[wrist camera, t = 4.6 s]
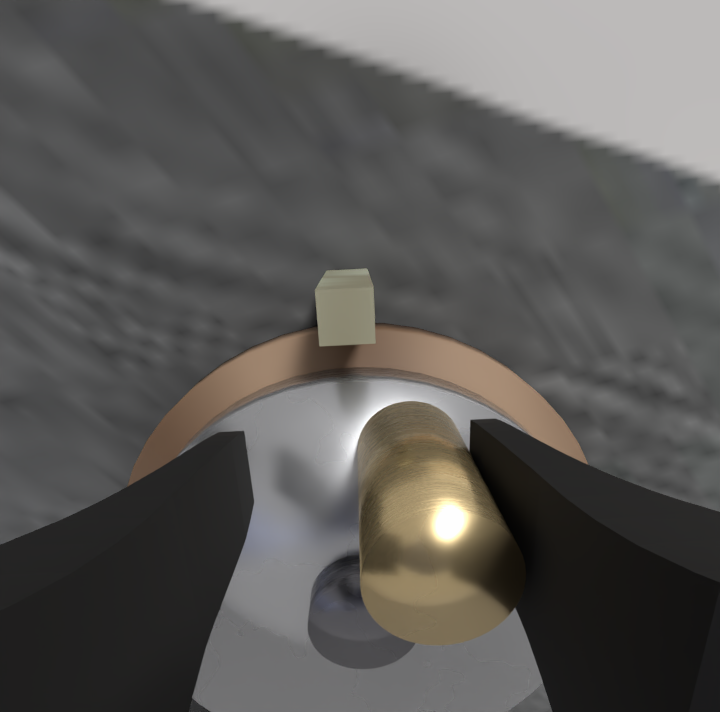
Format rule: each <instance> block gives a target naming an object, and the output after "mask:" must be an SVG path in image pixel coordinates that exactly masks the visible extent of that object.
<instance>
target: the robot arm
mask: <svg viewBox="0 0 720 712" xmlns="http://www.w3.org/2000/svg"><path fill="white" fill-rule="evenodd" d="M469 452H470V454H471V456H472V458H473V460H474V462H475V464H476V466H477V467H478V469H479V471H480V473H481V475H482V477H483V479H484V481H485V483H486V485H487V487H488V489H489V491H490V493H491V494H492V496H493V498H494V500H495V502H496V504H497V506H498V508H499V510H500V512H501V514H502V516H503V518H504V520H505V522H506V523H507V525H508V527H509V529H510V531H511V533H512V535H513V537H514V539H515V541H516V543H517V545H518V547H519V549H520V551H521V553H522V555H523V558H524V561H525V567H526V581H525V587H524V590H523V593H522V596H521V598H520V600H519V602H518V604H517V606H516V607H515V609H516V611H517V613H518V615H519V618H520V620H521V623H522V625H523V627H524V630H525V632H526V635H527V638H528V640H529V643H530V646H531V649H532V652H533V655H534V658H535V661H536V664H537V666H538V669H539V672H540V675H541V678H542V681H543V684H544V687H545V690H546V693H547V696H548V699H549V702H550V705H551V708H552V711H553V712H720V512H718V511H715V510H711V509H708V508H705V507H701V506H698V505H695V504H691V503H688V502H685V501H681V500H678V499H675V498H672V497H669V496H666V495H663V494H660V493H657V492H654V491H651V490H649V489H646V488H643V487H641V486H638V485H635V484H633V483H630V482H628V481H625V480H622V479H620V478H617V477H615V476H612V475H610V474H608V473H605V472H603V471H601V470H598V469H596V468H594V467H592V466H590V465H587V464H585V463H583V462H581V461H579V460H577V459H575V458H572V457H570V456H568V455H566V454H564V453H562V452H560V451H558V450H556V449H555V448H553V447H551V446H549V445H547V444H545V443H543V442H541V441H539V440H537V439H536V438H534V437H532V436H530V435H528V434H526V433H524V432H523V431H521V430H519V429H517V428H515V427H513V426H511V425H509V424H507V423H505V422H503V421H501V420H498V419H495V418H494V419H474V420H470V447H469ZM253 506H254V496H253V489H252V482H251V475H250V468H249V461H248V454H247V447H246V440H245V433H244V431H231V432H219V433H216V434H214V435H212V436H210V437H209V438H207V439H205V440H203V441H202V442H200V443H199V444H197V445H195V446H194V447H192V448H191V449H189V450H187V451H186V452H184V453H183V454H181V455H179V456H178V457H176V458H175V459H173V460H171V461H170V462H168V463H167V464H165V465H163V466H162V467H160V468H159V469H157V470H155V471H154V472H152V473H150V474H148V475H147V476H145V477H143V478H141V479H140V480H138V481H136V482H135V483H133V484H131V485H129V486H128V487H126V488H124V489H122V490H121V491H119V492H117V493H115V494H113V495H111V496H110V497H108V498H106V499H104V500H102V501H100V502H98V503H96V504H94V505H92V506H90V507H88V508H85V509H83V510H81V511H79V512H77V513H75V514H73V515H71V516H69V517H66V518H64V519H62V520H60V521H58V522H55V523H53V524H50V525H48V526H45V527H43V528H40V529H38V530H36V531H33V532H31V533H28V534H26V535H23V536H21V537H18V538H16V539H14V540H11V541H9V542H6V543H4V544H1V545H0V712H189V708H190V704H191V700H192V697H193V693H194V689H195V686H196V682H197V678H198V675H199V671H200V667H201V663H202V660H203V656H204V653H205V649H206V646H207V643H208V640H209V637H210V634H211V631H212V628H213V626H214V623H215V620H216V618H217V615H218V613H219V610H220V607H221V605H222V602H223V599H224V597H225V594H226V591H227V589H228V586H229V584H230V581H231V578H232V576H233V573H234V570H235V568H236V565H237V562H238V560H239V557H240V554H241V551H242V549H243V546H244V543H245V540H246V537H247V533H248V529H249V524H250V520H251V515H252V511H253Z"/></svg>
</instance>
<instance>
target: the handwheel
mask: <svg viewBox="0 0 720 712" xmlns="http://www.w3.org/2000/svg"><path fill="white" fill-rule="evenodd" d="M494 418H495V419H498V420H501V421H503V422H505V423H507V424H509V425H511V426H513V427H515V428H517V429H519V430H521V431H523V432H524V433H526V434H528V435H530V436H532V435H531V434H530V433H529V432H528V431H527V429H526V428H525V427H524V426H522V425H521V424H520V423H519V422H518V421H516V420H515V419H514V418H513V417H512V416H510V415H509V414H508V413H507V412H506V411H504V410H503V409H502V408H500V407H498V406H497V405H495V404H494V403H492V402H490V401H489V400H487V399H485V398H484V397H482V396H481V395H479V394H477V393H475V392H472V391H470V390H468V389H466V388H463V387H461V386H459V385H457V384H454V383H452V382H449V381H446V380H443V379H439V378H436V377H432V376H429V375H426V374H422V373H417V372H411V371H405V370H399V369H392V368H374V367H351V368H340V369H329V370H322V371H317V372H313V373H308V374H304V375H299V376H294V377H291V378H289V379H286V380H283V381H280V382H277V383H275V384H272V385H269V386H266V387H264V388H262V389H260V390H258V391H256V392H254V393H252V394H250V395H248V396H246V397H244V398H242V399H240V400H238V401H236V402H235V403H233V404H232V405H231V406H229V407H228V408H226V409H225V410H223V411H222V412H221V413H219V414H218V415H216V416H215V417H213V418H212V419H211V420H210V421H209V422H208V423H207V424H206V425H205V426H204V427H202V428H201V429H200V430H199V431H198V432H197V433H196V434H195V435H194V436H193V437H192V438H191V439H190V440H189V442H188V443H187V444H186V445H185V447H184V448H183V449H182V450H181V452H180V453H179V454H178V455H177V457H178V456H179V455H181V454H183V453H184V452H186V451H187V450H189V449H191V448H192V447H194V446H195V445H197V444H199V443H200V442H202V441H203V440H205V439H207V438H209V437H210V436H212V435H214V434H216V433H219V432H231V431H244V433H245V440H246V447H247V454H248V461H249V468H250V475H251V482H252V489H253V496H254V506H253V511H252V515H251V520H250V524H249V529H248V533H247V537H246V540H245V543H244V546H243V549H242V551H241V554H240V557H239V560H238V562H237V565H236V568H235V570H234V573H233V576H232V578H231V581H230V584H229V586H228V589H227V591H226V594H225V597H224V599H223V602H222V605H221V607H220V610H219V613H218V615H217V618H216V620H215V623H214V626H213V628H212V631H211V634H210V637H209V640H208V643H207V646H206V649H205V653H204V656H203V660H202V663H201V667H200V671H199V675H198V678H197V682H196V686H195V689H194V693H193V697H192V698H193V699H194V700H195V701H196V702H197V703H199V704H200V705H201V706H203V707H204V708H206V709H207V710H209V711H210V712H507V711H508V710H510V709H512V708H513V707H514V706H516V705H517V704H518V703H520V702H521V701H522V700H523V699H525V698H526V697H527V696H528V695H530V694H531V693H532V692H533V691H534V690H535V689H536V688H537V687H538V686H539V685H540V684H541V683H542V682H543V681H542V678H541V675H540V672H539V669H538V666H537V664H536V661H535V658H534V655H533V652H532V649H531V646H530V643H529V640H528V638H527V635H526V632H525V630H524V627H523V625H522V623H521V620H520V618H519V615H518V613H517V611H516V609H515V607H516V606H517V604H518V602H519V600H520V598H521V596H522V593H523V590H524V587H525V581H526V567H525V561H524V558H523V555H522V553H521V551H520V549H519V547H518V545H517V543H516V541H515V539H514V537H513V535H512V533H511V531H510V529H509V527H508V525H507V523H506V522H505V520H504V518H503V516H502V514H501V512H500V510H499V508H498V506H497V504H496V502H495V500H494V498H493V496H492V494H491V493H490V491H489V489H488V487H487V485H486V483H485V481H484V479H483V477H482V475H481V473H480V471H479V469H478V467H477V466H476V464H475V462H474V460H473V458H472V456H471V454H470V452H469V447H470V420H474V419H494ZM532 437H533V436H532Z"/></svg>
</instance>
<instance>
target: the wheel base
mask: <svg viewBox="0 0 720 712" xmlns="http://www.w3.org/2000/svg"><path fill="white" fill-rule="evenodd" d="M315 297H316V310H317V323H318V326H316V327H312V328H308V329H304V330H300V331H296V332H292V333H288V334H284V335H281V336H278V337H276V338H273V339H271V340H268V341H266V342H263V343H261V344H258V345H256V346H253V347H251V348H249V349H247V350H246V351H244V352H242V353H240V354H238V355H237V356H235V357H233V358H231V359H229V360H228V361H226V362H224V363H223V364H221V365H220V366H219V367H217V368H216V369H215V370H213V371H212V372H211V373H210V374H208V375H207V376H206V377H204V378H203V379H202V380H200V381H199V382H198V383H197V384H196V385H195V386H194V387H193V388H192V389H191V390H190V391H189V392H188V393H187V394H186V395H185V396H184V397H183V398H182V399H181V400H180V401H179V402H178V403H177V404H176V405H175V406H174V407H173V408H172V409H171V410H170V411H169V412H168V413H167V414H166V415H165V417H164V418H163V419H162V421H161V422H160V423H159V425H158V426H157V428H156V429H155V430H154V432H153V433H152V434H151V436H150V437H149V439H148V440H147V442H146V444H145V445H144V447H143V449H142V451H141V453H140V455H139V457H138V459H137V461H136V463H135V465H134V467H133V470H132V473H131V477H130V480H129V483H128V486H129V485H131V484H133V483H135V482H136V481H138V480H140V479H141V478H143V477H145V476H147V475H148V474H150V473H152V472H154V471H155V470H157V469H159V468H160V467H162V466H163V465H165V464H167V463H168V462H170V461H171V460H173V459H175V458H176V457H177V455H178V454H179V453H180V452H181V450H182V449H183V448H184V447H185V445H186V444H187V443H188V442H189V440H190V439H191V438H192V437H193V436H194V435H195V434H196V433H197V432H198V431H199V430H200V429H201V428H202V427H204V426H205V425H206V424H207V423H208V422H209V421H210V420H211V419H212V418H213V417H215V416H216V415H218V414H219V413H221V412H222V411H223V410H225V409H226V408H228V407H229V406H231V405H232V404H233V403H235V402H236V401H238V400H240V399H242V398H244V397H246V396H248V395H250V394H252V393H254V392H256V391H258V390H260V389H262V388H264V387H266V386H269V385H272V384H275V383H277V382H280V381H283V380H286V379H289V378H291V377H294V376H299V375H304V374H308V373H313V372H317V371H322V370H329V369H340V368H351V367H374V368H392V369H399V370H405V371H411V372H417V373H422V374H426V375H429V376H432V377H436V378H439V379H443V380H446V381H449V382H452V383H454V384H457V385H459V386H461V387H463V388H466V389H468V390H470V391H472V392H475V393H477V394H479V395H481V396H482V397H484V398H485V399H487V400H489V401H490V402H492V403H494V404H495V405H497V406H498V407H500V408H502V409H503V410H504V411H506V412H507V413H508V414H509V415H510V416H512V417H513V418H514V419H515V420H516V421H518V422H519V423H520V424H521V425H522V426H524V427H525V428H526V429H527V431H528V432H529V433H530V434H531V435H532V436H533V437H534V438H536V439H537V440H539V441H541V442H543V443H545V444H547V445H549V446H551V447H553V448H555V449H556V450H558V451H560V452H562V453H564V454H566V455H568V456H570V457H572V458H575V459H577V460H579V461H581V462H583V463H585V464H587V465H588V463H587V461H586V459H585V456H584V454H583V452H582V450H581V447H580V445H579V443H578V442H577V440H576V439H575V437H574V436H573V434H572V433H571V431H570V430H569V428H568V427H567V425H566V424H565V422H564V421H563V419H562V418H561V417H560V416H559V415H558V414H557V413H556V411H555V410H554V409H553V408H552V407H551V406H550V405H549V404H548V403H547V401H546V400H545V399H544V398H543V397H542V396H541V395H540V394H539V393H537V392H536V391H535V390H534V389H533V388H532V387H531V386H530V385H528V384H527V383H526V382H525V381H524V380H522V379H521V378H520V377H519V376H518V375H516V374H515V373H514V372H513V371H511V370H510V369H509V368H508V367H507V366H505V365H503V364H502V363H500V362H499V361H497V360H495V359H494V358H492V357H490V356H489V355H487V354H485V353H484V352H482V351H480V350H479V349H476V348H474V347H472V346H469V345H467V344H465V343H462V342H460V341H458V340H455V339H453V338H451V337H448V336H444V335H441V334H437V333H434V332H430V331H426V330H423V329H419V328H414V327H407V326H400V325H393V324H386V323H375V312H374V287H373V284H372V281H371V278H370V275H369V272H368V269H348V270H328V271H326V272H325V274H324V276H323V277H322V279H321V281H320V282H319V284H318V286H317V287H316V289H315ZM128 486H127V487H128Z"/></svg>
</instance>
